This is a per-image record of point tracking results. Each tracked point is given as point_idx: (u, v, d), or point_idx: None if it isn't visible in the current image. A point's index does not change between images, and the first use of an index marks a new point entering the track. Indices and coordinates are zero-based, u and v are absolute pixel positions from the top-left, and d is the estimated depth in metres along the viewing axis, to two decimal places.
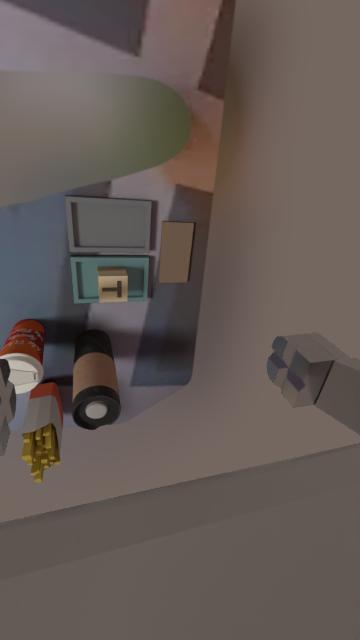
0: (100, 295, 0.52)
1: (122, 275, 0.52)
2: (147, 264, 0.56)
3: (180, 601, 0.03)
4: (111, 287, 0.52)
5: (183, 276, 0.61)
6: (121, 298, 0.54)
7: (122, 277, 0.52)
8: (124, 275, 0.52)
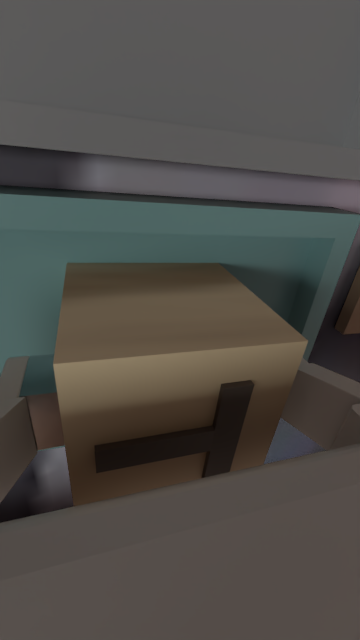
0: (82, 491, 0.07)
1: (267, 339, 0.06)
2: (342, 253, 0.10)
3: (180, 601, 0.03)
4: (166, 433, 0.07)
5: None
6: None
7: (271, 354, 0.06)
8: (279, 336, 0.06)
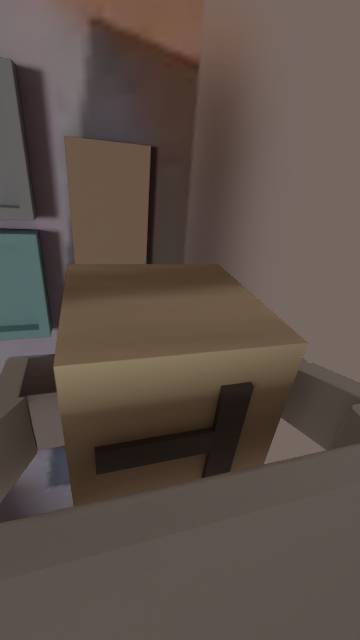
0: (82, 493, 0.07)
1: (267, 340, 0.06)
2: (35, 252, 0.22)
3: (180, 600, 0.03)
4: (166, 434, 0.07)
5: None
6: None
7: (270, 356, 0.06)
8: (278, 338, 0.06)
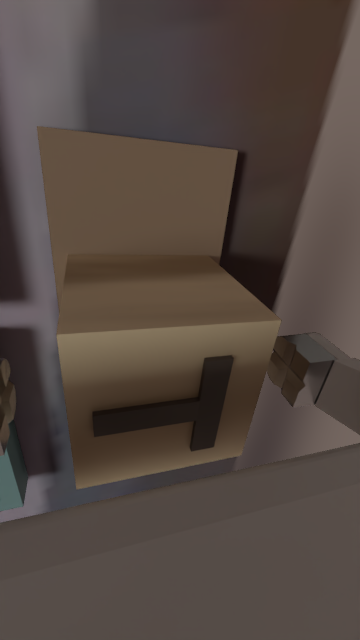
0: (81, 455, 0.07)
1: (245, 317, 0.07)
2: None
3: (180, 600, 0.03)
4: (157, 403, 0.07)
5: None
6: (212, 448, 0.09)
7: (248, 331, 0.07)
8: (256, 316, 0.07)
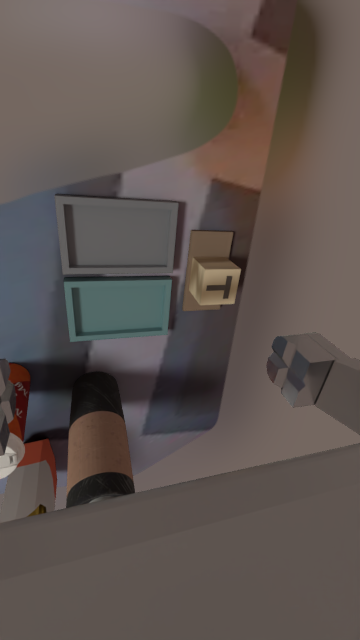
0: (202, 296, 0.39)
1: (234, 268, 0.38)
2: (169, 288, 0.41)
3: (180, 601, 0.03)
4: (217, 285, 0.38)
5: None
6: (227, 300, 0.40)
7: (234, 271, 0.38)
8: (236, 268, 0.38)
